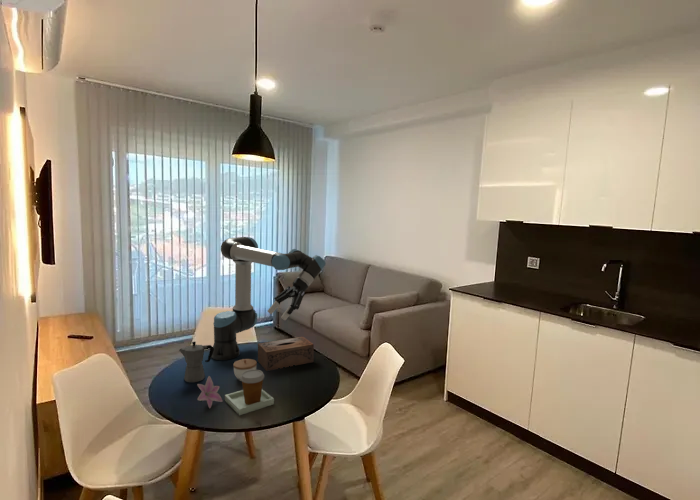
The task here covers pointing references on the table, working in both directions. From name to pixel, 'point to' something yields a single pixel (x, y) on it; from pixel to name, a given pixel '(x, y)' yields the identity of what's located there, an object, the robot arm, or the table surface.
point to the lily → (209, 392)
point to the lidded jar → (243, 366)
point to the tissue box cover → (285, 353)
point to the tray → (241, 408)
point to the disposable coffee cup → (252, 386)
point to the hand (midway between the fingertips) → (275, 315)
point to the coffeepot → (195, 361)
